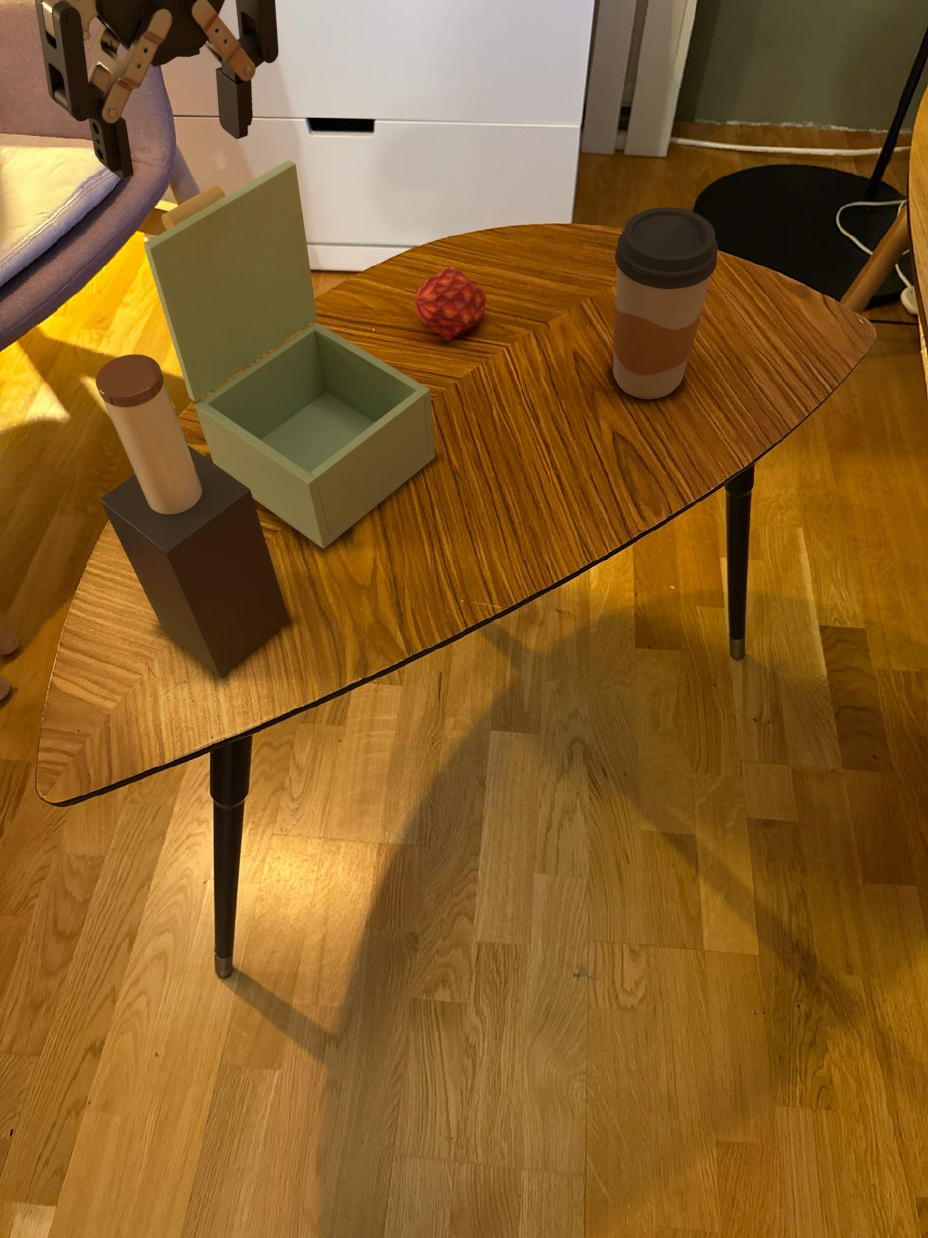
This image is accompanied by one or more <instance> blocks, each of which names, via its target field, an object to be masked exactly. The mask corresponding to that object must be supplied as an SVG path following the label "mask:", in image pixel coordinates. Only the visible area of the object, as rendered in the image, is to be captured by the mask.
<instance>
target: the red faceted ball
mask: <svg viewBox="0 0 928 1238" xmlns="http://www.w3.org/2000/svg"><path fill="white" fill-rule="evenodd" d="M486 297H487V294H486V293H485V292H484V291H483V289H482V287H480V286H479V285H478V284H477V282H476V281H474V280H472V279H471V278H470V277H468V275H465V274H464V273H463V272H461V271H460V270H459V269H458V268H457V267H456V266H453V265H451V266H450V267H448V268H446V269H444V270H442V271H440V272H439V273H436V274H435V275H432V276H431V277H429V278H428V279H426V280H425V281H424V282H423V283H422V284H421V285H420V286H419V287H418V288H417V289H416V292H415V298H414V304H415V305H414V306H415V313H416V314H417V316H418V317H419V319H420V320H421V321H422V322H423V323H424V325H426V326H427V327H428V328H430V329H432V330H433V331H435V332H436V333H438V334H439V335H441V336H442V337H443V338H445V339H447V340H448V341H450V340H452V339H453V338H456V337H457V336H460V335H461V334H462V333H464V332H466V331H467V330H469V329H471V328H473V327H474V326H476V324H478V323H479V322H480V321H481V320H482V319H483V318H484V317H485V313H486Z"/></svg>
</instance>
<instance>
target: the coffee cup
mask: <svg viewBox="0 0 928 1238" xmlns="http://www.w3.org/2000/svg"><path fill="white" fill-rule="evenodd" d="M718 246H719V244H718V242H717V240H716V232H715V229H714V227H713V225H712V224H711V222H709V221H708V219H707V218H705V217H704V216H702V215H700V214H699V213H696V212H694V211H692V210H688V209H684V208H680V207H671V206H669V207H668V206H664V207H663V206H662V207H653V208H649V209H646V210H643V211H641V212H638V213H636V214H635V215H633V216H632V217H631V218H630V219H628V221H627V223H626V224H625V226H624V229H623V230H622V231H621V234H620V236H618V240H617V247H616V248H615V253H614V260H615V263H616V277H615V278H616V279H615V282H616V283H615V284H616V285H615V297H614V305H613V306H614V307H613V333H612V347H613V365H612V366H613V367H612V374H613V377H614V380H615V382H616V383H617V385H618V387H619V388H620V389H621V390H622V391H623V392H624V393H625V394H628V395H630V396H632V397H634V398H637V399H642V400H654V399H657V400H658V399H660V398H663V397H667V396H668V395H670V394H672V393H673V392H674V391H675V390H676V389H677V388H678V387H679V385H681V382H682V381H683V378H684V374H685V371H686V367H687V363H688V360H689V357H690V354H691V352H692V349H693V346H694V341H695V338H696V334H697V331H698V327H699V324H700V320H701V317H702V315H703V314H702V313H703V306H704V303H705V300H706V296H707V292H708V289H709V285H710V282H711V278H712V274H713V273H714V272H715V270H716V268H717V266H718V265H717V264H718V251H719V250H718V248H719V247H718Z"/></svg>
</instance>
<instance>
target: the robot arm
mask: <svg viewBox="0 0 928 1238" xmlns="http://www.w3.org/2000/svg"><path fill="white" fill-rule="evenodd" d="M225 2H226V0H34V4H35V11H36V18H37V25H38V30H39V38H40V44H41V51H42V58H43V63H44V64H43V65H44V70H45V77H46V84H47V90H48V95H49V97H50V99H51V100H53V102H54V103H56V104H57V105H59V106H60V107H62V108H63V109H64V110H65V111H66V112H68V114H69V115H70V116H71V117H72V118H73V119H75V120H76V121H78V122H85V121H87V120H88V124H89V130H90V135H91V139H92V141H91V142H92V146H93V151H94V156H95V157H96V158H97V160H98V161H99V162H100V164H102V165H103V167H105V168H106V169H107V170H108V171H110V172H111V173H112V174H114V175H115V176H117V178H119V179H120V180H121V181H122V180H126V179H129V178H131V177H134V174H135V173H134V166H133V159H132V153H131V146H130V139H129V133H128V126H127V120H126V119H125V118H123V117H122V115H123V112H124V109H125V107H126V106H127V102H128V100H129V98H130V96H131V94H132V91H133V90H137V89H139V88H140V87H141V86H142V84H143V82H144V80H145V77H146V75H147V73H148V71H149V68H150V66H152V67H154V68H156V67H161V66H164V65H167V64H168V63H170V62H172V61H173V60H175V59H176V58H191V57H195V56H198V55H200V54H201V51H200V50H201V49H202V48H203V47H204V46H205V47H206V49H207V50H208V51H209V52H210V53H211V55H213V57H214V58H215V59H216V61H217V62H218V63H219V64H221V66H219V67H217V68H215V80H216V94H217V109H218V121H219V125H220V126H221V128H222V129H223V130H224V131H225V132H226V133H227V134H229V135H230V136H232V137H233V138H234V139H235V140H240V139H243V138H245V137H247V136H248V135H249V126H251V125H252V123H253V118H254V113H253V112H254V111H253V89H252V88H253V87H252V85H253V84H252V79H254V77H255V74H256V69H257V68H258V67H259V66H261V65H262V64H263V63H266V64H272V63H274V62H275V61H276V60H277V58H278V57H279V36H278V35H279V34H278V21H277V7H276V0H235V9H236V18H237V28H238V38H236V37H235V35H234V34H233V32H232V31H231V30H230V28H228V26H227V25H226V23H225V22H224V21H223V20H222V18H221V17H220V16H219V15H220V13H221V11H222V9H223V6H224V4H225ZM94 18H96V19H97V20H98V21H99V22H100V24H99V27H98V29H97V32H96V34H95V36H94V39H93V41H92V44H91V46H90V49H89V55H90V56H89V57H90V59H91V60H90V61H91V62H90V65H89V67H88V65H87V57H86V48H85V42H88V41H89V40H90V39H91V33H90V25H91V22H92V21H93V19H94ZM120 45H121V46H122V47H123V48H124V49H125V50H126V51H127V54H126V56H125V58H124V59H123V61H122V60H121V59H120V58H119V56H118V50H119V46H120Z"/></svg>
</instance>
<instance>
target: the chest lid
mask: <svg viewBox="0 0 928 1238" xmlns="http://www.w3.org/2000/svg"><path fill="white" fill-rule="evenodd" d="M303 214H304V213H303V207H302V199H301V192H300V186H299V178H298V171H297V164H296V163H295V162H294V161H292V160H290V159H287V160H286V161H284V162H282V163H281V164H279V165H277V166H275V167H274V168H271V169H270V170H268V171H266V172H265V173H263V174H262V175H259V176H258V177H256V178H254V179H253V180H251V181H250V182H248V183H246V184H244V185H242V186H241V187H239V188H237V189H236V190H234V191H232V192H230V193H228V194H227V195H226V193H225V192H224V190H223V189H222V188H221V187H220V185H217V184H214V185H212V186H210V187H208V188H207V189H204V190H202V191H201V192H200V193H198V194H196V195H194V196H192V197H190V198H189V199H187V200H186V201H184V202H182V203H180V204H179V205H177V206H175V207H172V209H170V210H168V211H166V212H165V213H163V214H162V215H161V222H162V224H163V226H164V229H165V231H163V232H162V233H160V234H158V235H157V236H155V237H153V238H152V239H150V240H148V241H146V242H145V243H143V247H144V251H145V255H146V258H147V261H148V264H149V268H150V271H151V274H152V277H153V278H152V279H153V282H154V284H155V288H156V291H157V294H158V298H159V301H160V305H161V308H162V311H163V314H164V318H165V321H166V324H167V327H168V331H169V334H170V338H171V341H172V344H173V348H174V352H175V354H176V358H177V361H178V364H179V368H180V371H181V375H182V379H183V381H184V384H185V387H186V391H187V394H188V397H189V399H190V400H192V401H193V402H195V403H197V402H199V401H200V400H202V399H203V398H205V397H206V396H208V395H209V394H211V393H212V392H213V391H215V390H216V389H218V388H219V387H221V386H222V385H224V384H225V383H227V382H228V381H230V380H231V379H232V378H234V377H235V376H237V375H238V374H240V373H241V372H243V371H244V370H246V369H247V368H248V367H250V366H251V365H253V364H254V363H256V362H257V361H259V360H260V359H262V358H263V357H265V356H266V355H267V354H269V353H270V352H272V351H273V350H275V349H276V348H278V347H279V346H281V345H282V344H283V343H285V342H286V341H288V340H289V339H291V338H292V337H294V336H295V335H297V334H298V333H300V332H301V331H302V330H304V329H305V328H307V327H308V326H310V325H311V324H312V323H314V322H316V320H318V315H317V307H316V301H315V293H314V285H313V279H312V278H313V277H312V271H311V265H310V264H311V263H310V257H309V251H308V250H309V249H308V242H307V234H306V227H305V221H304V215H303Z"/></svg>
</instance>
